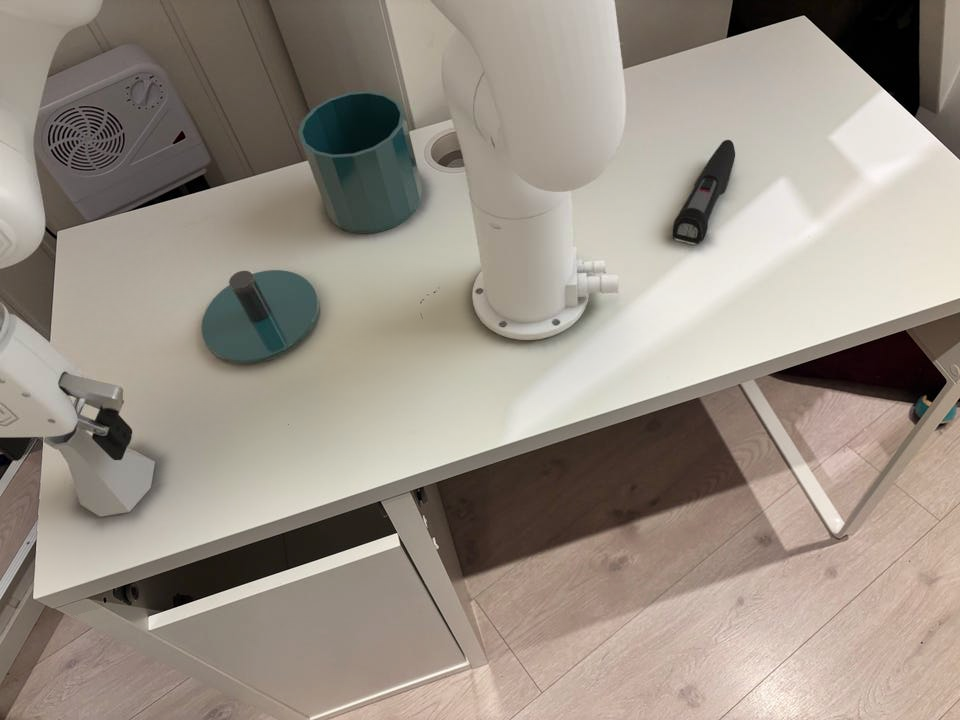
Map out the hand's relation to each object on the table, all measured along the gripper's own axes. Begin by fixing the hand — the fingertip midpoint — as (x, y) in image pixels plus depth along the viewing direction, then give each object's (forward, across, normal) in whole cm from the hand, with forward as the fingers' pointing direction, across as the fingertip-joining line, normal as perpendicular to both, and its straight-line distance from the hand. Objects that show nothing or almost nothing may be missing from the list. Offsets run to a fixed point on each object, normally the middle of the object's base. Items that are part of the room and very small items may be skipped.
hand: (73, 446), depth 67 cm
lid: (+7, +10, +21) cm, 24 cm away
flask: (+8, 0, 0) cm, 8 cm away
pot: (+7, +20, +40) cm, 45 cm away
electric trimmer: (+7, +60, +37) cm, 71 cm away
